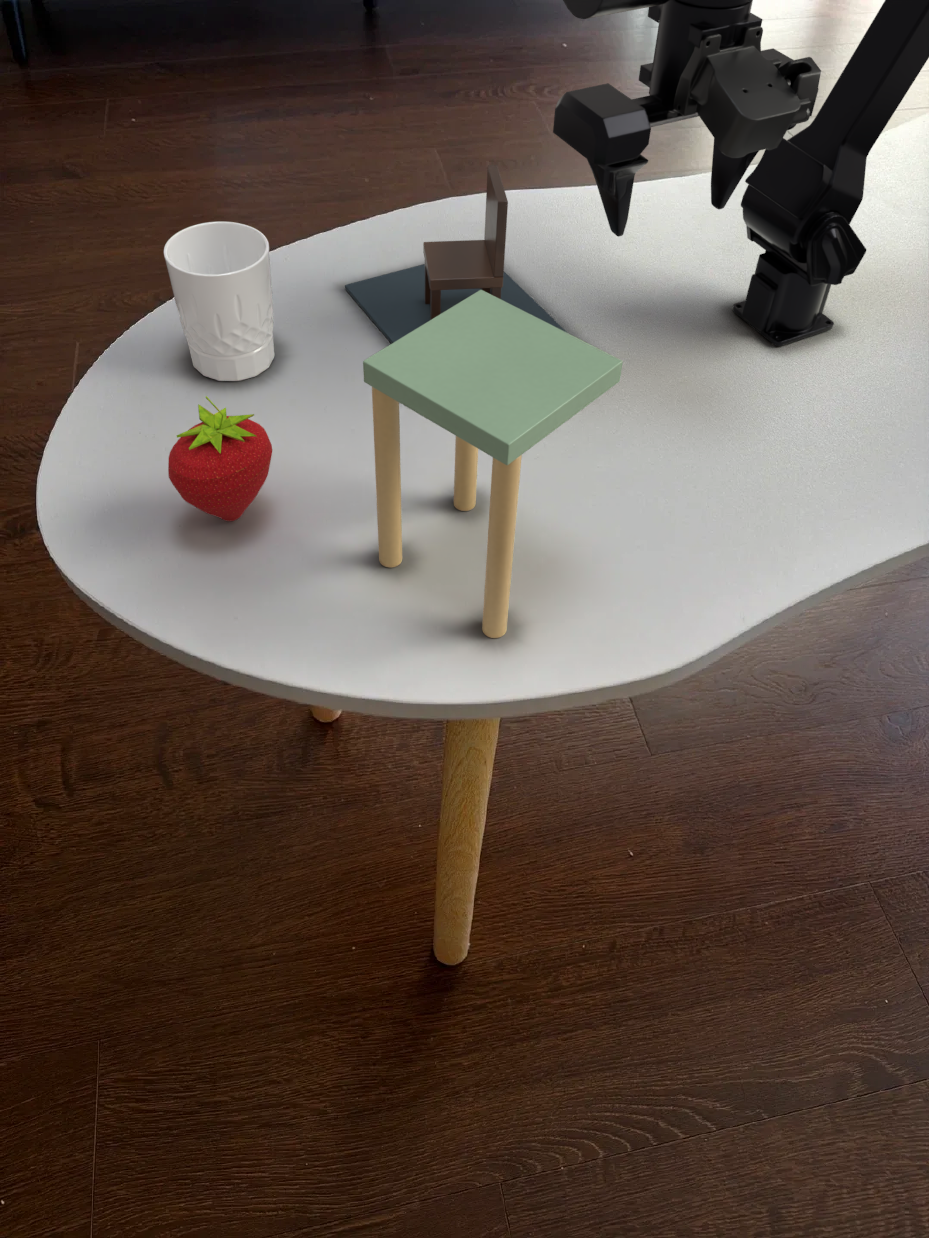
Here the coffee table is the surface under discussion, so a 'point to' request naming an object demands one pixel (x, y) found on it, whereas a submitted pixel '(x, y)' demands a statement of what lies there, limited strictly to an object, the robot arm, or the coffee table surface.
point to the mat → (423, 300)
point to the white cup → (223, 297)
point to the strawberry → (220, 463)
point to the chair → (470, 253)
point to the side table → (480, 413)
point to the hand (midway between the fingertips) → (667, 220)
